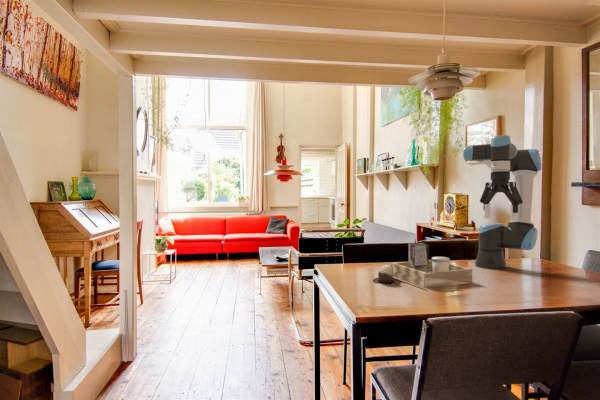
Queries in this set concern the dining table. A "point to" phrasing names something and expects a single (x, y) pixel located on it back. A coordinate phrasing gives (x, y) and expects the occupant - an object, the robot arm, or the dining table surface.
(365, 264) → the dining table surface
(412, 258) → the coffee box
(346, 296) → the dining table surface
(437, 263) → the white light bulb
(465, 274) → the crate
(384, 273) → the skull
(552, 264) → the dining table surface
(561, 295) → the dining table surface
